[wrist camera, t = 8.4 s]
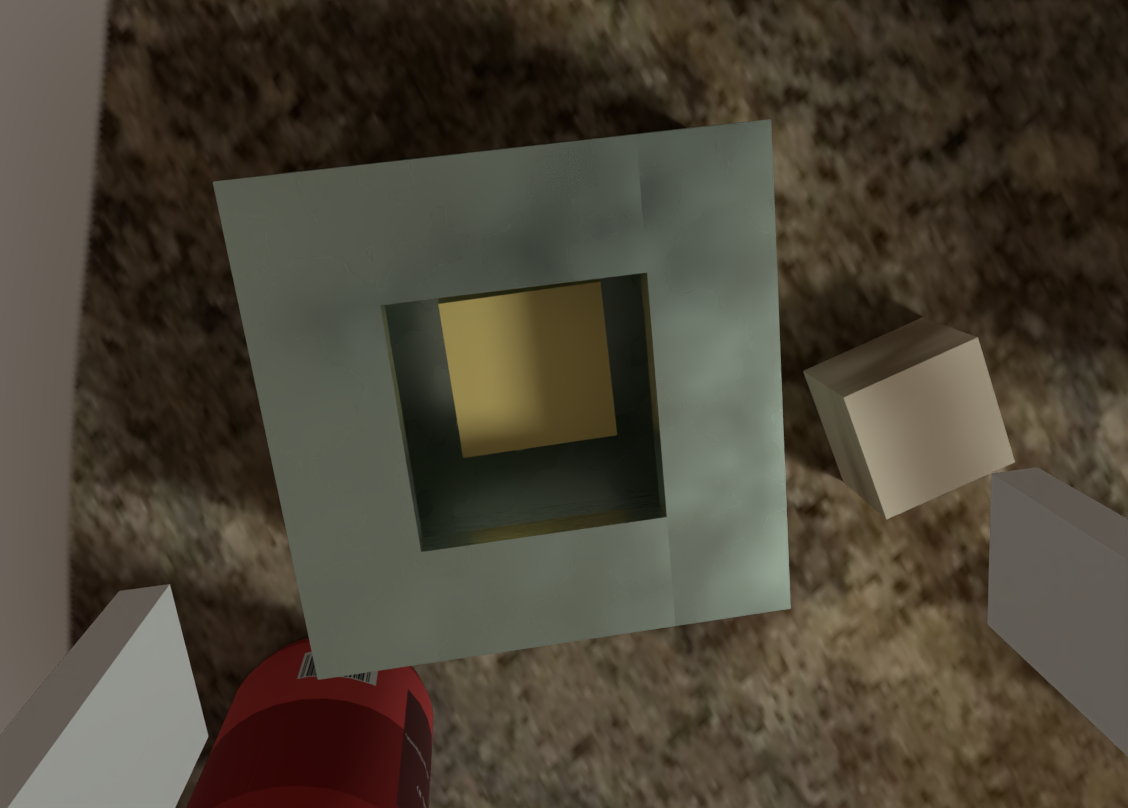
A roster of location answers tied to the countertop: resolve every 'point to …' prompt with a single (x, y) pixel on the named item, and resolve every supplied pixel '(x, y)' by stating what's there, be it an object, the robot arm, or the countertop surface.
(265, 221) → the box
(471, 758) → the countertop surface
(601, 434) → the block
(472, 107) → the countertop surface
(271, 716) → the canned food
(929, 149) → the countertop surface
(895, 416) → the block
